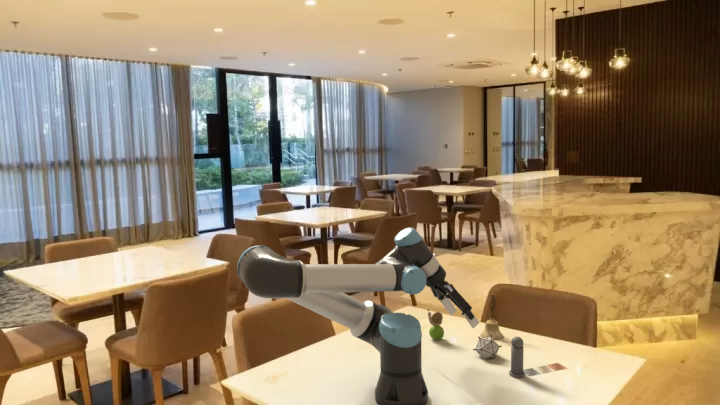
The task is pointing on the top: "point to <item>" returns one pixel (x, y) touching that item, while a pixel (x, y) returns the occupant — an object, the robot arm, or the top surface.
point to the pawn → (517, 358)
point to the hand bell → (492, 322)
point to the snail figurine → (436, 325)
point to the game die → (487, 347)
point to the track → (542, 369)
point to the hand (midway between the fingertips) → (464, 318)
